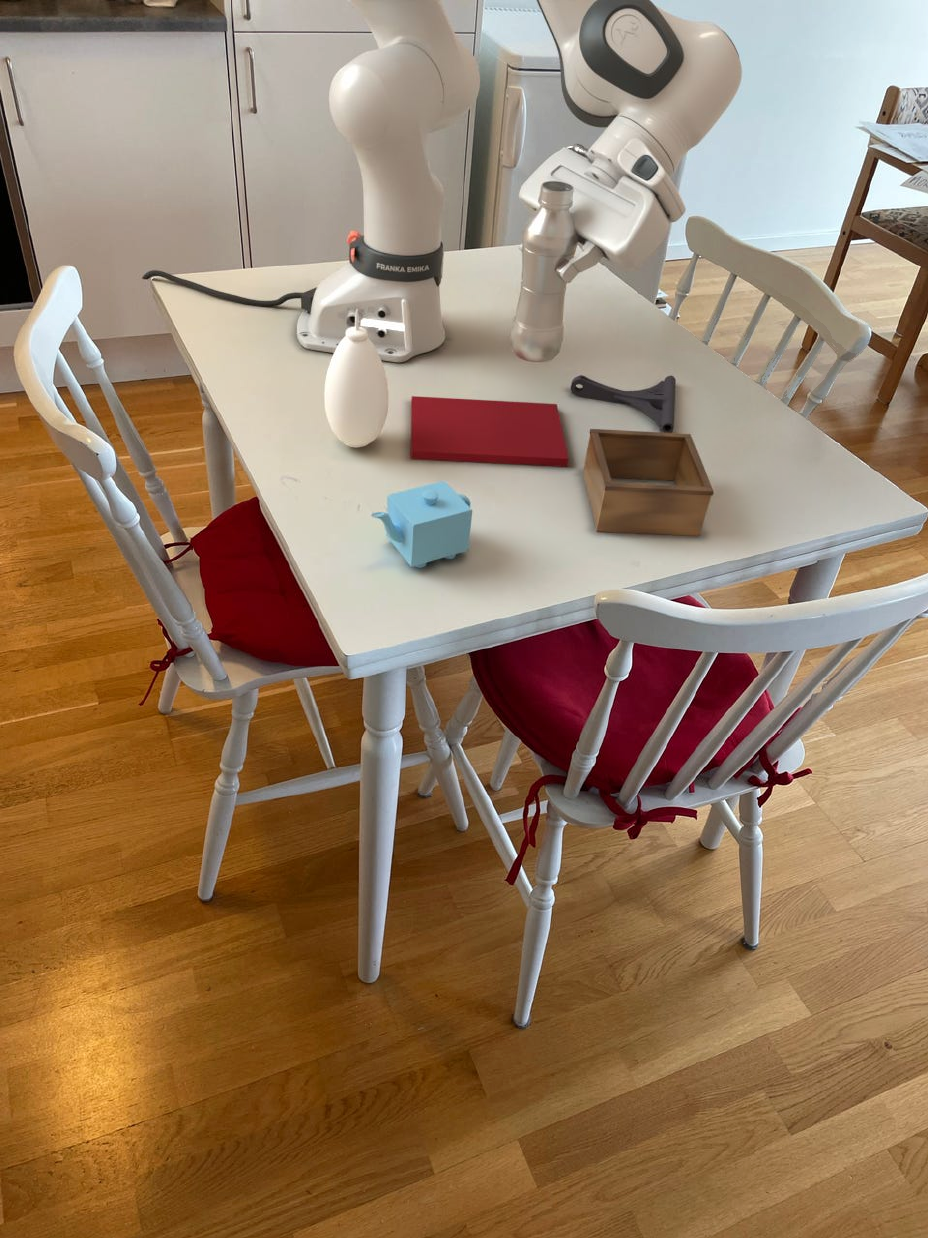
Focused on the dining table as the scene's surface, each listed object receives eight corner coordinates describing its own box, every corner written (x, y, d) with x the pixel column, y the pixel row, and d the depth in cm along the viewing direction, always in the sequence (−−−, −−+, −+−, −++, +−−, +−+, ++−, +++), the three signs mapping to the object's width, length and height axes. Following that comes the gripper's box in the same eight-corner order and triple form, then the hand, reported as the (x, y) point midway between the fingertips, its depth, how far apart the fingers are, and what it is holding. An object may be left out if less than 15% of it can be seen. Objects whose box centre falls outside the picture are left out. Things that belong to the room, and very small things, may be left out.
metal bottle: (569, 354, 119) (597, 185, 105) (544, 374, 114) (570, 201, 101) (523, 339, 121) (545, 171, 107) (497, 358, 116) (517, 186, 103)
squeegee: (574, 370, 143) (577, 353, 141) (674, 386, 141) (678, 368, 140) (564, 418, 132) (567, 400, 130) (672, 435, 131) (676, 417, 129)
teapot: (382, 581, 102) (384, 524, 97) (358, 549, 106) (359, 493, 101) (479, 553, 107) (485, 498, 102) (452, 524, 111) (457, 469, 106)
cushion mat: (410, 459, 121) (411, 450, 120) (411, 403, 131) (411, 395, 131) (567, 466, 123) (568, 458, 122) (555, 411, 133) (556, 403, 132)
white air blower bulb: (318, 431, 124) (315, 297, 112) (376, 424, 126) (379, 292, 115) (334, 463, 119) (333, 326, 107) (394, 455, 121) (399, 320, 109)
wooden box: (595, 531, 112) (605, 486, 108) (581, 472, 122) (590, 428, 118) (700, 536, 113) (714, 491, 109) (678, 477, 123) (690, 433, 119)
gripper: (558, 120, 111) (479, 216, 113) (675, 177, 99) (584, 284, 101) (582, 158, 116) (506, 249, 118) (696, 216, 104) (609, 317, 106)
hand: (543, 265), depth 110 cm, fingers closed on metal bottle, 6 cm apart
